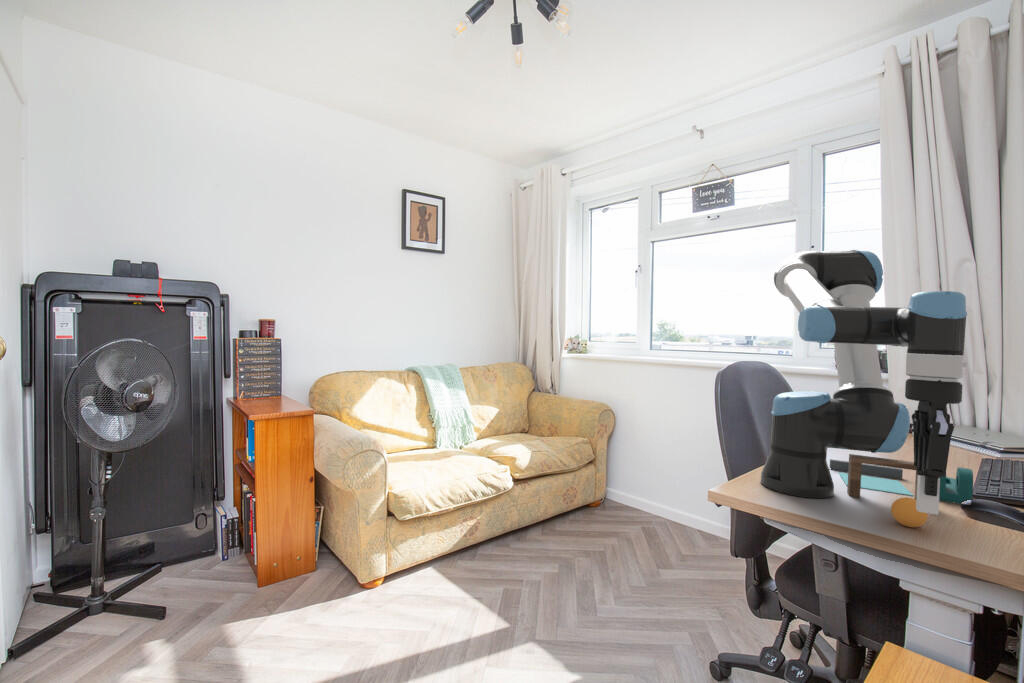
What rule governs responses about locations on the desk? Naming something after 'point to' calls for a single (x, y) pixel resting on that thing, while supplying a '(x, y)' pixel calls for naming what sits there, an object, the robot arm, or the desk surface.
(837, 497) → the desk surface
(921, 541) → the desk surface
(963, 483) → the bracket
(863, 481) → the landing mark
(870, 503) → the desk surface
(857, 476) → the bridge
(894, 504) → the ball
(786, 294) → the robot arm
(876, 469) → the wall
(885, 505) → the desk surface
